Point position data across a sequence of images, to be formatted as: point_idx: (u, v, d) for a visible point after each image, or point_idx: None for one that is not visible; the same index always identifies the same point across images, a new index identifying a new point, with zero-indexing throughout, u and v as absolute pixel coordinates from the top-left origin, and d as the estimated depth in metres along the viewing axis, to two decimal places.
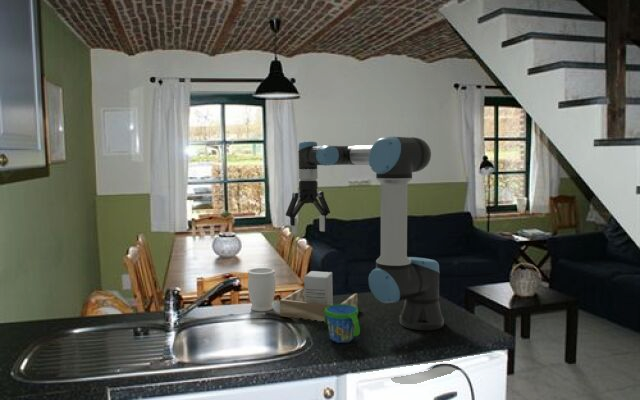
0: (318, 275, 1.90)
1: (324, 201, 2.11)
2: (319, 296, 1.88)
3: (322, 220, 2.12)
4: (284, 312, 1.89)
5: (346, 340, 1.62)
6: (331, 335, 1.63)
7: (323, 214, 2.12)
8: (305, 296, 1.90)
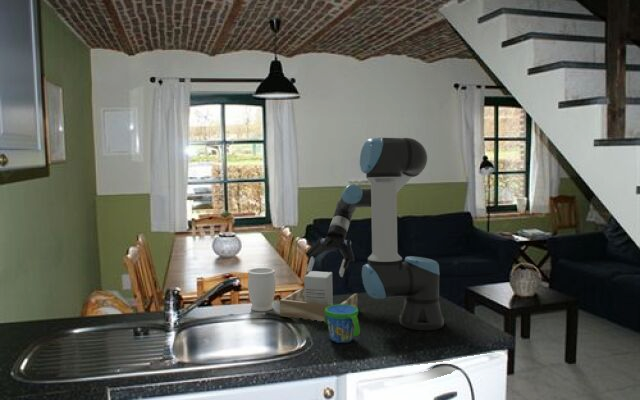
0: (318, 275, 1.90)
1: (348, 247, 2.03)
2: (319, 296, 1.88)
3: None
4: (284, 312, 1.89)
5: (346, 340, 1.62)
6: (331, 335, 1.63)
7: (345, 259, 2.00)
8: (305, 296, 1.90)
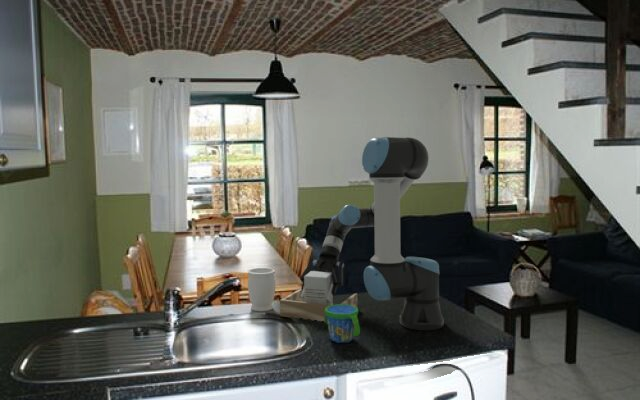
0: (318, 275, 1.90)
1: (339, 270, 1.94)
2: (319, 295, 1.88)
3: None
4: (284, 312, 1.89)
5: (346, 340, 1.62)
6: (331, 335, 1.63)
7: None
8: (305, 296, 1.90)
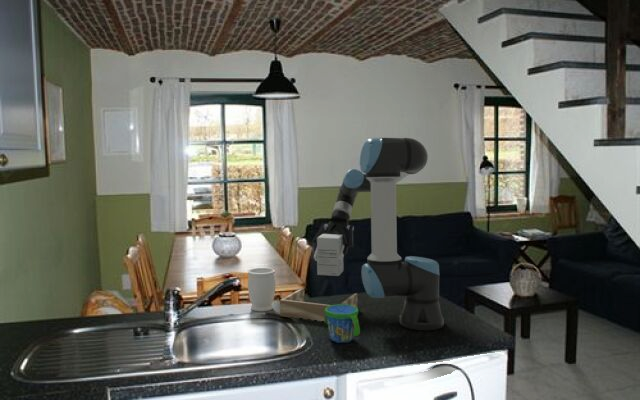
0: (330, 236, 2.01)
1: (350, 232, 2.05)
2: (331, 256, 1.99)
3: None
4: (284, 312, 1.89)
5: (346, 340, 1.62)
6: (331, 335, 1.63)
7: None
8: (318, 256, 2.01)
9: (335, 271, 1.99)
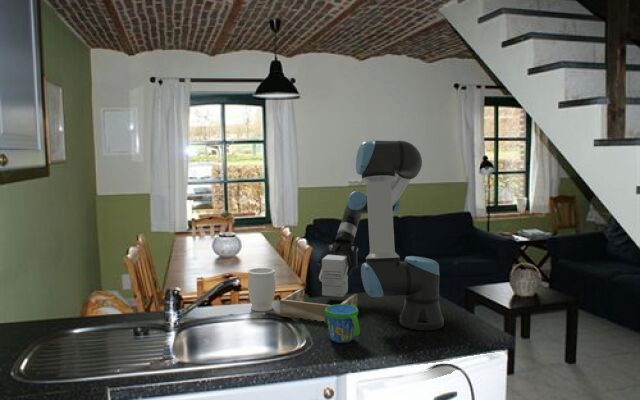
0: (335, 258, 2.05)
1: (354, 254, 2.10)
2: (335, 277, 2.04)
3: None
4: (284, 312, 1.89)
5: (346, 340, 1.62)
6: (331, 335, 1.63)
7: (349, 266, 2.07)
8: (323, 277, 2.05)
9: (340, 292, 2.04)
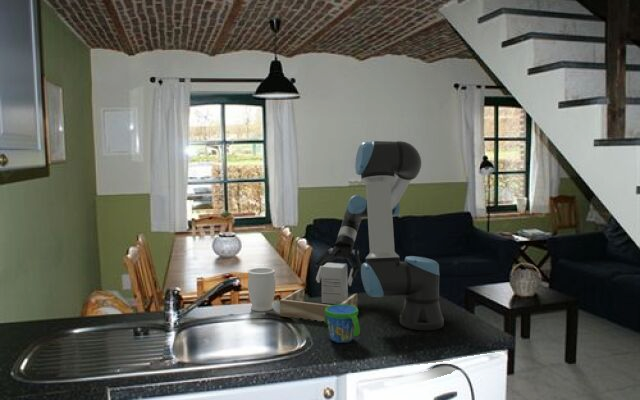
0: (334, 266, 2.06)
1: (356, 256, 2.10)
2: (335, 285, 2.04)
3: None
4: (284, 312, 1.89)
5: (346, 340, 1.62)
6: (331, 335, 1.63)
7: (353, 268, 2.07)
8: (322, 285, 2.05)
9: (339, 300, 2.04)
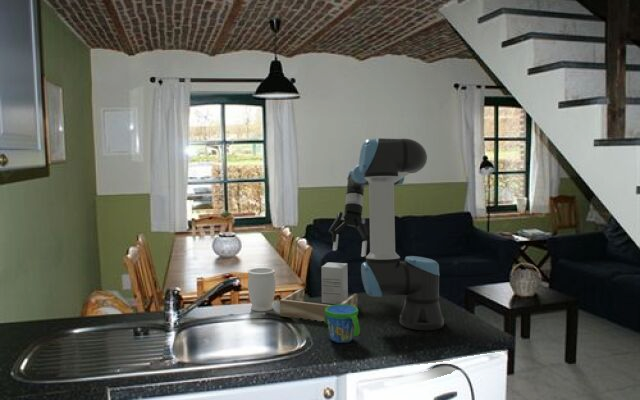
0: (334, 266, 2.05)
1: (368, 228, 2.21)
2: (335, 285, 2.04)
3: (364, 245, 2.19)
4: (284, 312, 1.89)
5: (346, 340, 1.62)
6: (331, 335, 1.63)
7: (366, 240, 2.20)
8: (322, 285, 2.05)
9: (339, 300, 2.04)
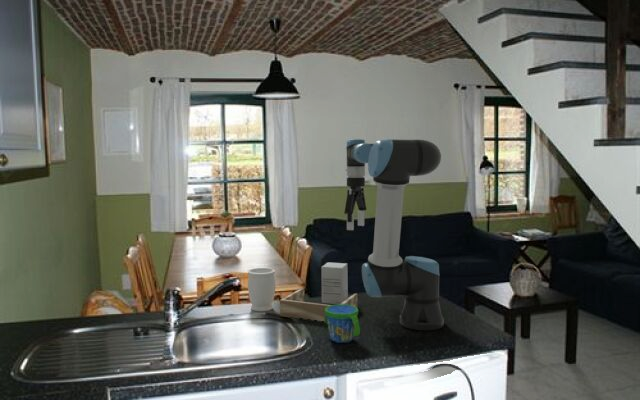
0: (334, 266, 2.05)
1: (363, 197, 2.20)
2: (335, 285, 2.04)
3: (362, 215, 2.20)
4: (284, 312, 1.89)
5: (346, 340, 1.62)
6: (331, 335, 1.63)
7: (362, 209, 2.21)
8: (322, 285, 2.05)
9: (339, 300, 2.04)
